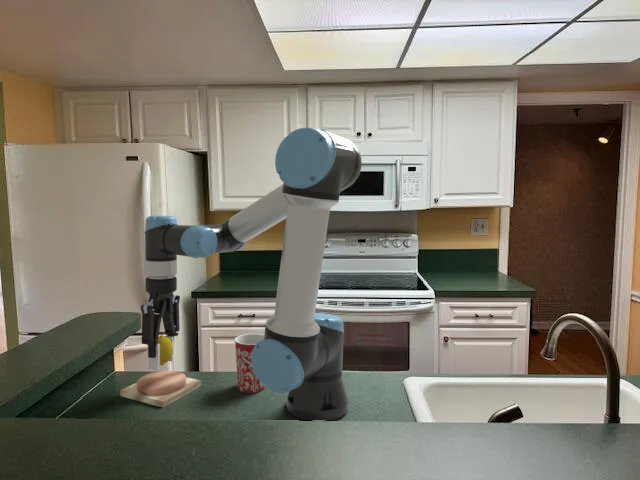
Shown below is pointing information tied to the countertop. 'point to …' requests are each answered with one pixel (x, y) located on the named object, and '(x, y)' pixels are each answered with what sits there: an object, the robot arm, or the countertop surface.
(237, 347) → the mug
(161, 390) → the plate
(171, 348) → the lemon
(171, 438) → the countertop surface
